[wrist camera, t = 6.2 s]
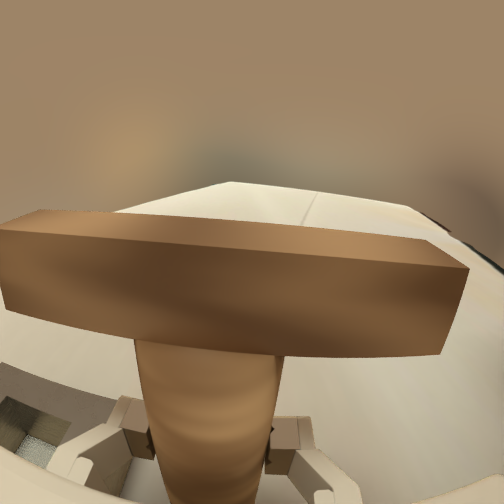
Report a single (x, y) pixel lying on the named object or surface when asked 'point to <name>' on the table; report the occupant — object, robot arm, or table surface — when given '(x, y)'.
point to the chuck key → (226, 318)
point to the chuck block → (50, 414)
